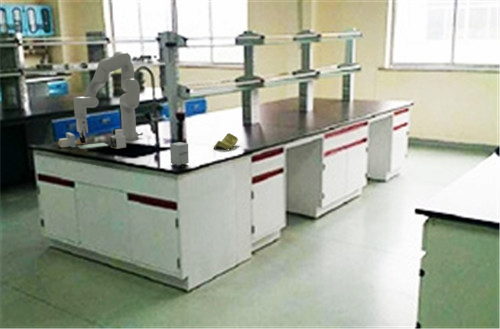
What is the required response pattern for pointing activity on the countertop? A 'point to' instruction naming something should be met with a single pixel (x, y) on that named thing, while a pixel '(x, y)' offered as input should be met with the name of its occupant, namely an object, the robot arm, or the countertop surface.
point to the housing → (71, 139)
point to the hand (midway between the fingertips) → (82, 142)
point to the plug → (67, 142)
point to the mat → (92, 145)
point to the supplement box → (179, 153)
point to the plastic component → (227, 141)
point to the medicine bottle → (118, 139)
